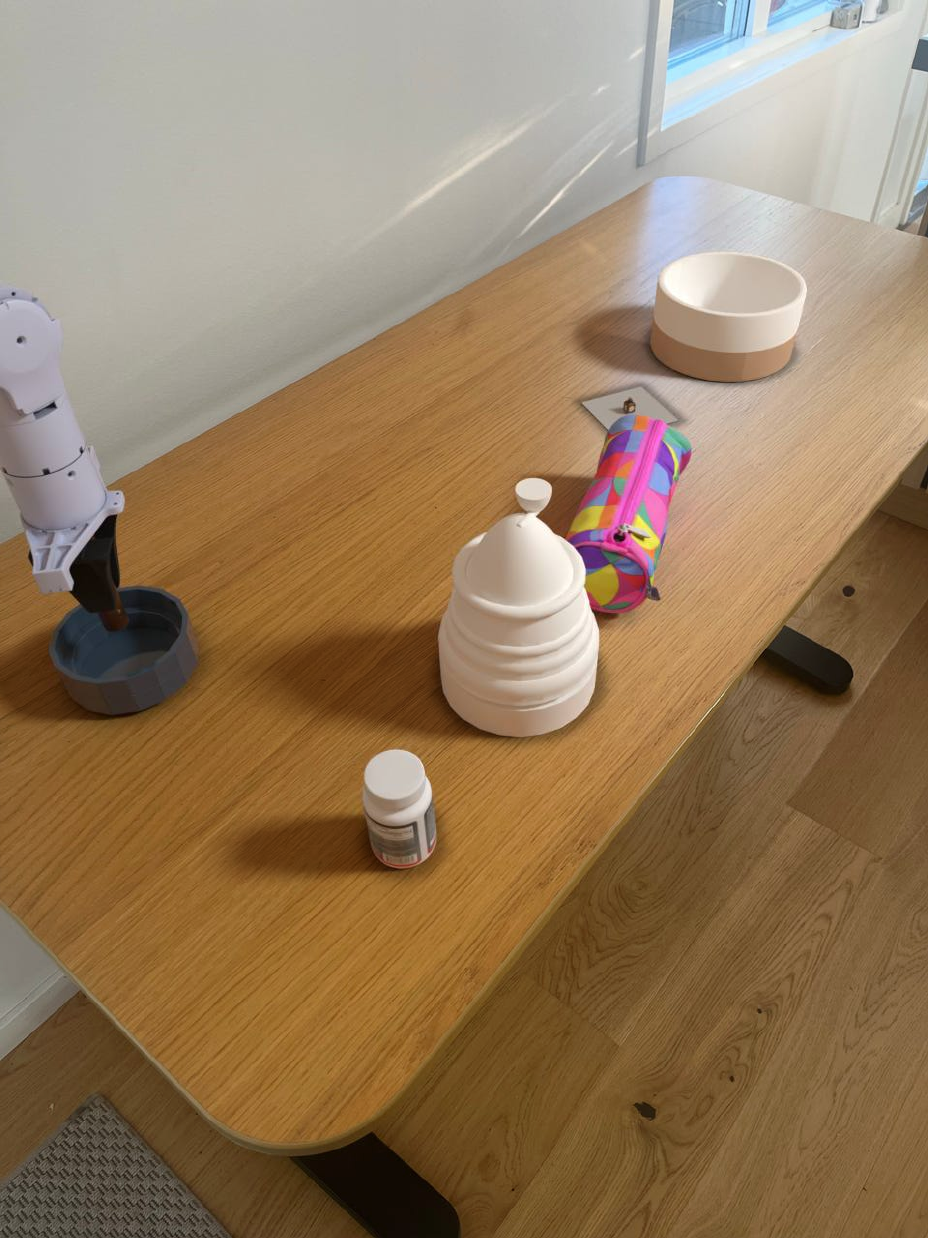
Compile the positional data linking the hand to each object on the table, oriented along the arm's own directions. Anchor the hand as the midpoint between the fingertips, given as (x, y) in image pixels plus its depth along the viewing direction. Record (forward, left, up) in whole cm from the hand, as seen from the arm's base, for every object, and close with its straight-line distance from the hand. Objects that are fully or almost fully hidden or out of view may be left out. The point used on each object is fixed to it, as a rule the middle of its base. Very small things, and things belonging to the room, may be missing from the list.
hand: (104, 597), depth 71 cm
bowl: (+67, +43, -9) cm, 80 cm away
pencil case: (+45, +8, -9) cm, 46 cm away
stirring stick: (0, 0, -3) cm, 3 cm away
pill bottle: (+21, -20, -9) cm, 30 cm away
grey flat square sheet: (+52, +31, -9) cm, 61 cm away
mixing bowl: (0, 0, -9) cm, 9 cm away
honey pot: (+32, -6, -9) cm, 34 cm away
